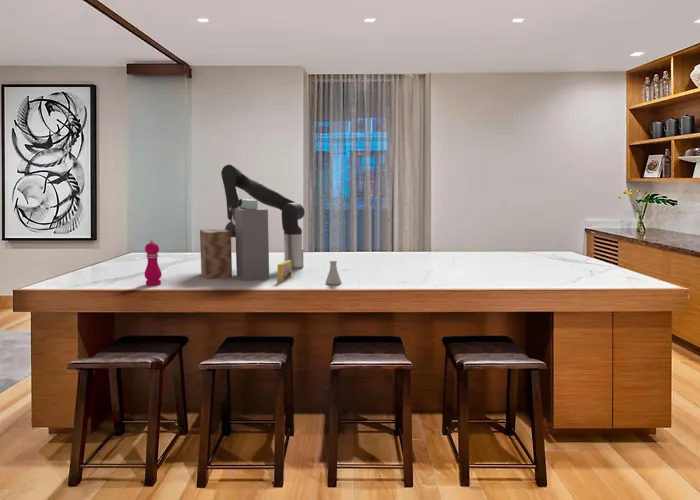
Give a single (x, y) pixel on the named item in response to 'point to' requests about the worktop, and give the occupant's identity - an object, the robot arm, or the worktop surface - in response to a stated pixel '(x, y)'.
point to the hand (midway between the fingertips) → (245, 200)
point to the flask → (333, 274)
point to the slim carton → (249, 204)
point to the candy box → (284, 271)
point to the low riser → (216, 253)
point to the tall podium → (252, 243)
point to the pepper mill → (152, 264)
